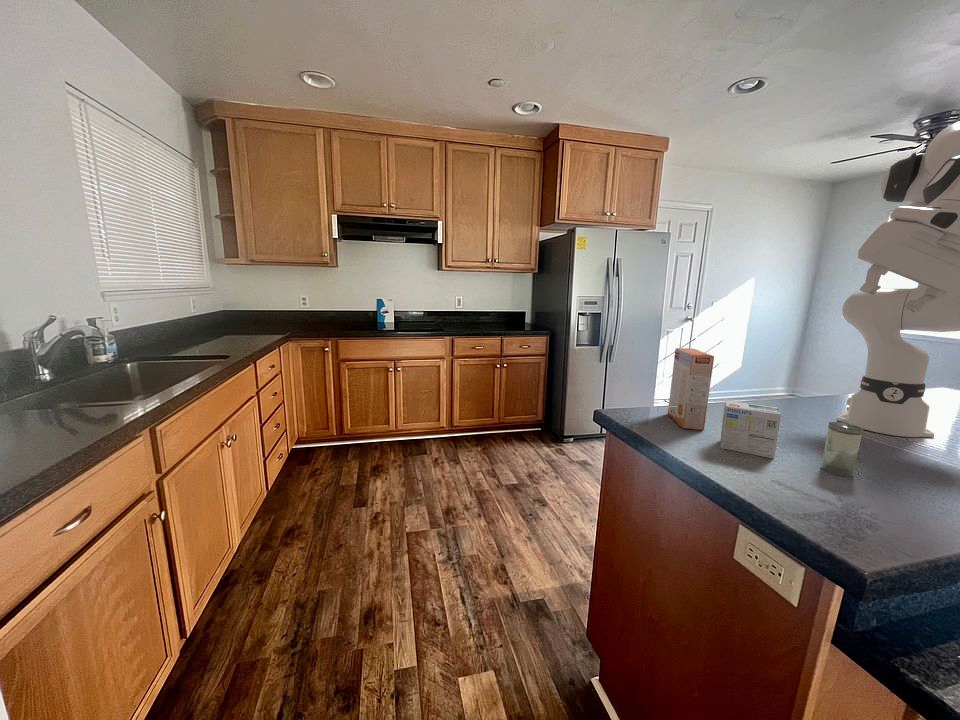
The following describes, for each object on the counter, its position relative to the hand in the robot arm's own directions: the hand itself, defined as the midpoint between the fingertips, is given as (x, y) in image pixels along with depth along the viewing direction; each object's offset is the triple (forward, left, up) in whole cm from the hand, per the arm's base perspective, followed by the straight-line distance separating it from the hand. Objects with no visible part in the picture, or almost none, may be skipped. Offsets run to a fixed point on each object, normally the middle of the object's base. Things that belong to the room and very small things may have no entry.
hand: (888, 301), depth 68 cm
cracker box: (-15, -34, -36) cm, 52 cm away
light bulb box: (-4, -18, -36) cm, 40 cm away
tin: (-4, -2, -36) cm, 36 cm away
